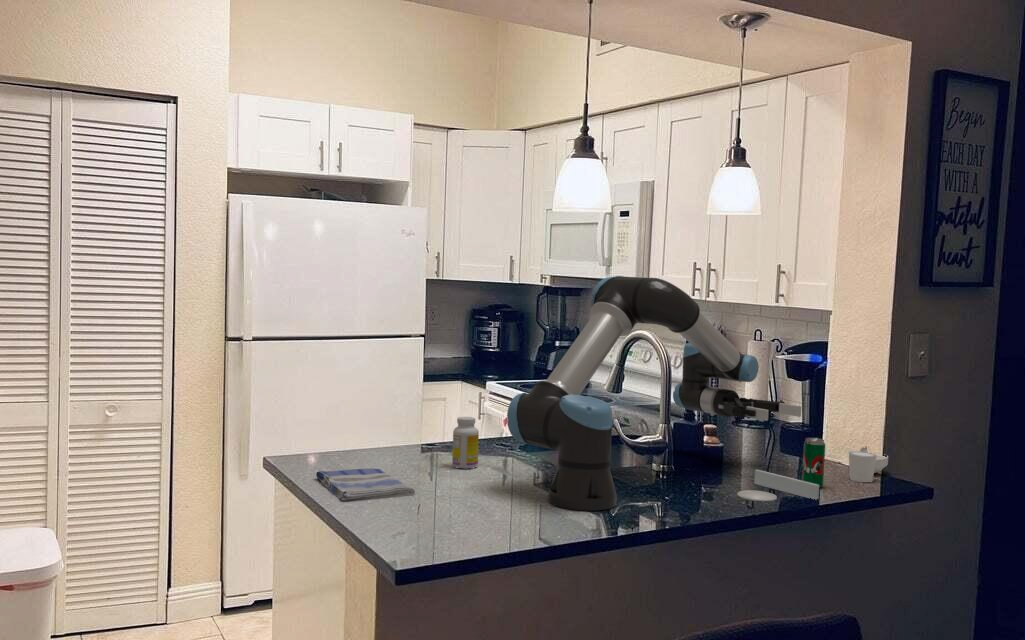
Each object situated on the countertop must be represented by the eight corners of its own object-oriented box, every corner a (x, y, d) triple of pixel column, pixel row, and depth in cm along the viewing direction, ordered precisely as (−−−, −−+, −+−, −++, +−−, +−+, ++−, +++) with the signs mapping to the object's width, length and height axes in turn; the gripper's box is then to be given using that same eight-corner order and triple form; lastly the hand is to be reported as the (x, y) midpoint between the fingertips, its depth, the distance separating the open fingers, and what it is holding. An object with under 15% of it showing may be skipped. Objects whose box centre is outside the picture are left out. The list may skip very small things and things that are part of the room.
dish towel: (342, 505, 189) (342, 492, 189) (313, 480, 210) (313, 469, 210) (417, 498, 197) (417, 485, 197) (382, 475, 218) (382, 464, 218)
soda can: (826, 486, 221) (828, 439, 220) (818, 490, 217) (821, 442, 216) (806, 483, 224) (809, 436, 224) (798, 486, 220) (801, 438, 220)
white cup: (877, 484, 226) (879, 457, 226) (849, 482, 227) (851, 455, 227) (872, 478, 233) (873, 452, 232) (845, 476, 234) (846, 450, 234)
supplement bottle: (480, 465, 231) (481, 416, 230) (474, 470, 225) (476, 420, 224) (455, 463, 232) (457, 415, 232) (449, 468, 226) (450, 419, 225)
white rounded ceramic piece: (849, 474, 236) (850, 450, 236) (845, 466, 248) (847, 442, 247) (889, 478, 233) (891, 453, 233) (884, 469, 245) (886, 445, 244)
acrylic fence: (754, 483, 221) (754, 470, 221) (756, 483, 222) (757, 469, 222) (815, 500, 207) (816, 485, 207) (818, 499, 207) (819, 484, 207)
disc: (733, 497, 206) (733, 495, 206) (743, 489, 214) (743, 488, 214) (772, 503, 202) (772, 501, 202) (780, 495, 210) (780, 494, 210)
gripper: (749, 412, 253) (812, 423, 235) (689, 418, 238) (752, 431, 221) (750, 386, 252) (814, 396, 235) (690, 391, 238) (753, 402, 220)
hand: (784, 413), depth 228 cm, fingers open, 13 cm apart
